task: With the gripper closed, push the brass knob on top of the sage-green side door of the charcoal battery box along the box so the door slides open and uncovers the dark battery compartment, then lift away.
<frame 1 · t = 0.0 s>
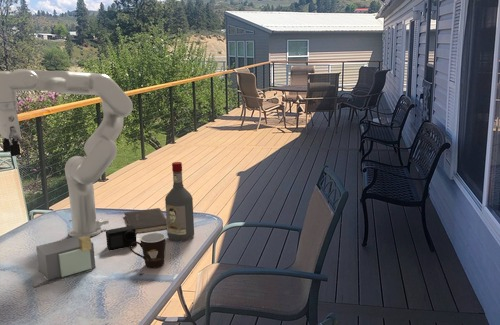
hand: (12, 153, 192), 37 cm above the table, tool pointing down, fingers open, 9 cm apart
hardcover book: (146, 223, 226), on the table
digital camera: (122, 247, 200), on the table
battery box: (67, 269, 181), on the table
coffee mug: (151, 264, 184), on the table
side door: (75, 256, 175), point 7 cm above the table, slide at 0.0 cm
liquor: (181, 237, 208), on the table
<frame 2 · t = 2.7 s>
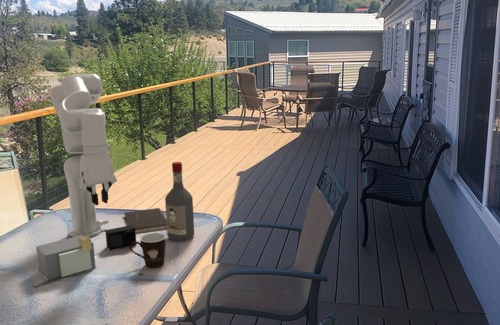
hand: (100, 202, 177), 23 cm above the table, tool pointing down, fingers closed
nothing on the table moved.
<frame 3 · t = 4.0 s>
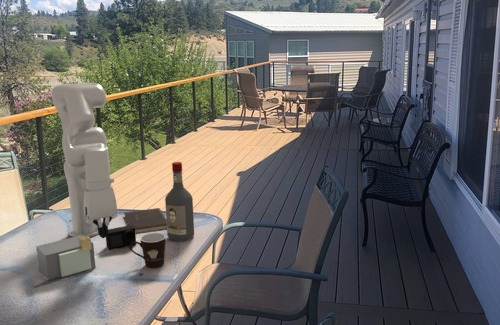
hand: (103, 236, 180), 11 cm above the table, tool pointing down, fingers closed
nothing on the table moved.
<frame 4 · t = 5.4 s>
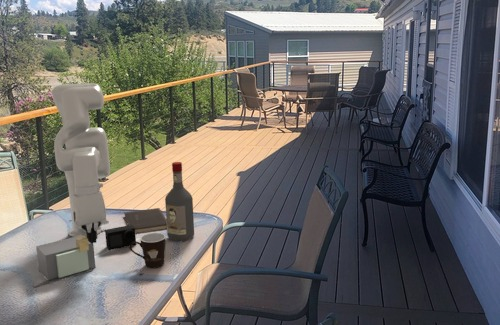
hand: (92, 241, 178), 10 cm above the table, tool pointing down, fingers closed
side door: (73, 257, 174), point 7 cm above the table, slide at 0.9 cm, touching gripper
everything else where it was.
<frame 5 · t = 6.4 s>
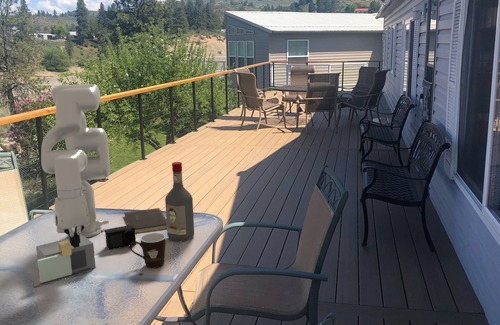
hand: (75, 246, 174), 10 cm above the table, tool pointing down, fingers closed
side door: (55, 262, 171), point 7 cm above the table, slide at 6.7 cm, touching gripper
everything else where it was.
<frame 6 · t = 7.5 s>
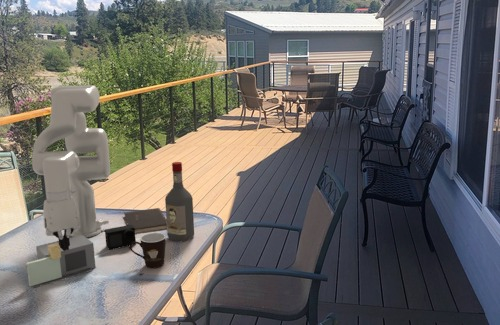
hand: (64, 248, 172), 10 cm above the table, tool pointing down, fingers closed
side door: (44, 265, 169), point 7 cm above the table, slide at 10.1 cm, touching gripper
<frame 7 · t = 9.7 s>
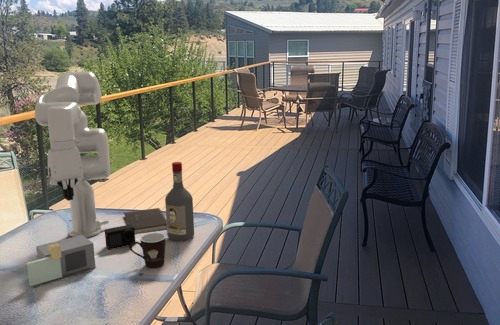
hand: (69, 199, 174), 26 cm above the table, tool pointing down, fingers closed
side door: (44, 265, 169), point 7 cm above the table, slide at 10.0 cm
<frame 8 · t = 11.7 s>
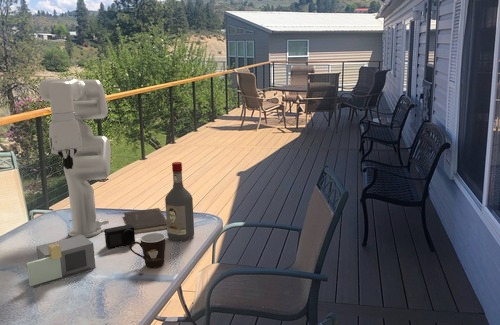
hand: (68, 168, 188), 32 cm above the table, tool pointing down, fingers closed
at the end: side door slide at 10.0 cm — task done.
